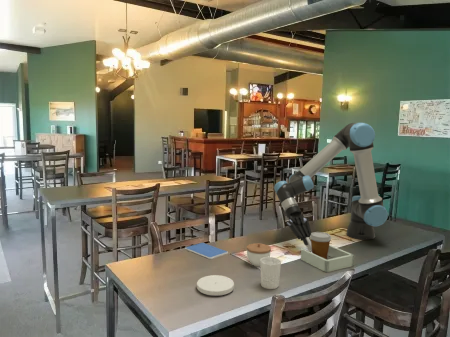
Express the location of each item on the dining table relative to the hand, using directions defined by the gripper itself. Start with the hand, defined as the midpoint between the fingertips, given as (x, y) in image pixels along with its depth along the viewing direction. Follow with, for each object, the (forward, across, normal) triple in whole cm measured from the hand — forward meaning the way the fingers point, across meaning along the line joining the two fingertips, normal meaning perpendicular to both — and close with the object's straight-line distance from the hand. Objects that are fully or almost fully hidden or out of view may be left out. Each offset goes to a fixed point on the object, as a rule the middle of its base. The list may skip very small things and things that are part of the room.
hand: (311, 250), depth 170 cm
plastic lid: (+9, +56, +5) cm, 57 cm away
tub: (+8, -1, +4) cm, 9 cm away
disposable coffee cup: (+5, -1, +1) cm, 6 cm away
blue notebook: (-17, +42, -23) cm, 51 cm away
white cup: (+14, +36, +10) cm, 40 cm away
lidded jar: (0, +28, -4) cm, 28 cm away
